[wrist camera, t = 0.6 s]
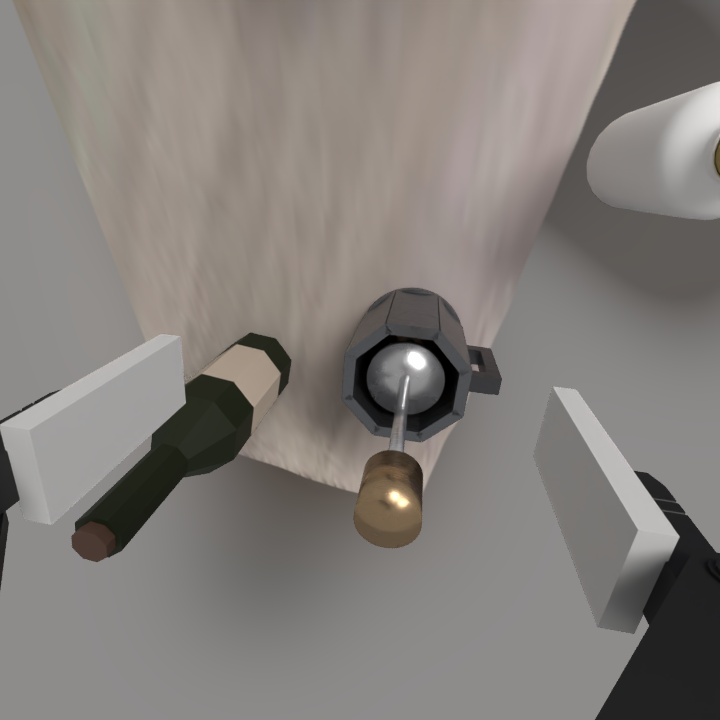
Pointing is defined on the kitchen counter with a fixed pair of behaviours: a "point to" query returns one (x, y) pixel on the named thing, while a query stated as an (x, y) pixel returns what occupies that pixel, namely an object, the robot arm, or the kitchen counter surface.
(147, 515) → the wine bottle
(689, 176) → the white rounded cylinder
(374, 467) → the plunger
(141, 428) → the robot arm
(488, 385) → the dark grey mug
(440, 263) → the kitchen counter surface
